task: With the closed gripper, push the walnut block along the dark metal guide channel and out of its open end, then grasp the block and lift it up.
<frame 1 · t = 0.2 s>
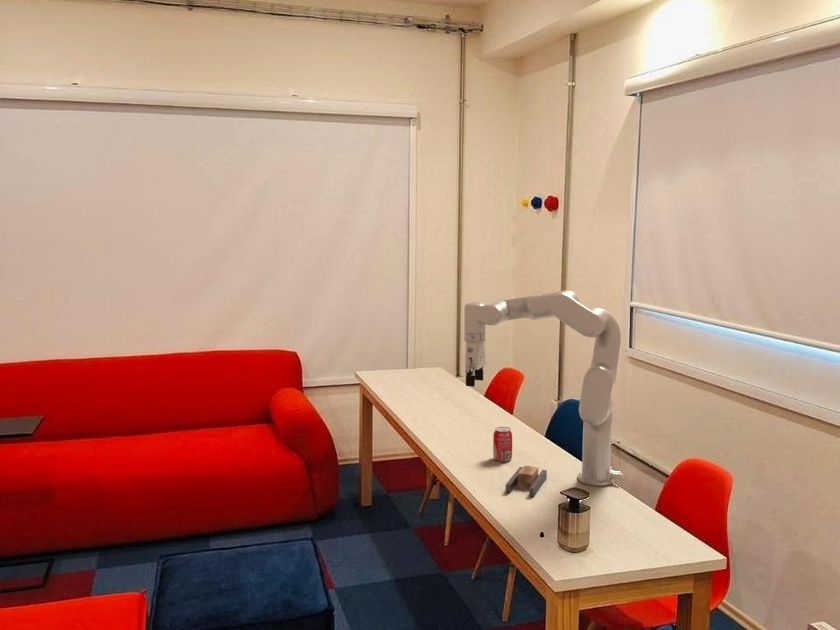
hand: (474, 383, 273), 31 cm above the table, tool pointing down, fingers open, 9 cm apart
soda can: (502, 460, 282), on the table
walnut block: (528, 484, 258), on the table
guide channel: (526, 485, 256), on the table
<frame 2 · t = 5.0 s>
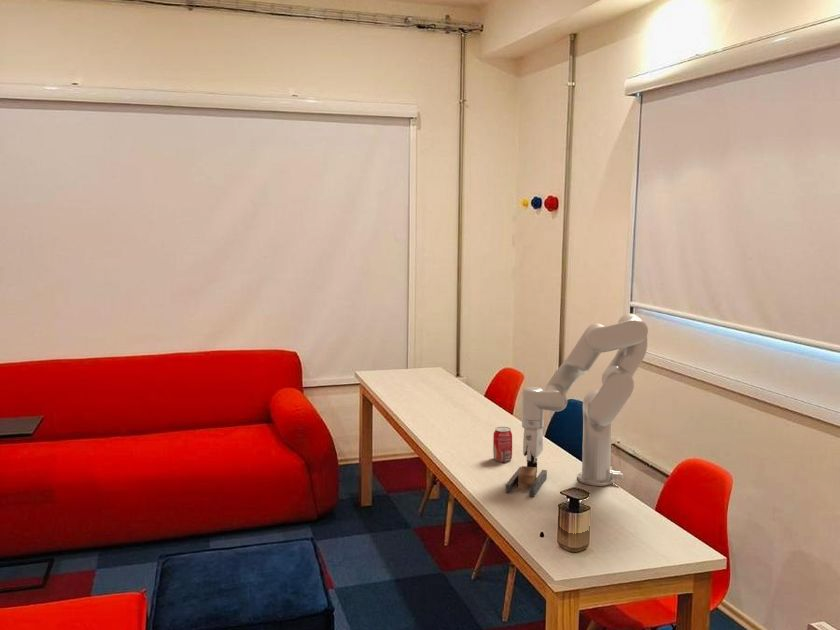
hand: (531, 473, 263), 2 cm above the table, tool pointing down, fingers closed
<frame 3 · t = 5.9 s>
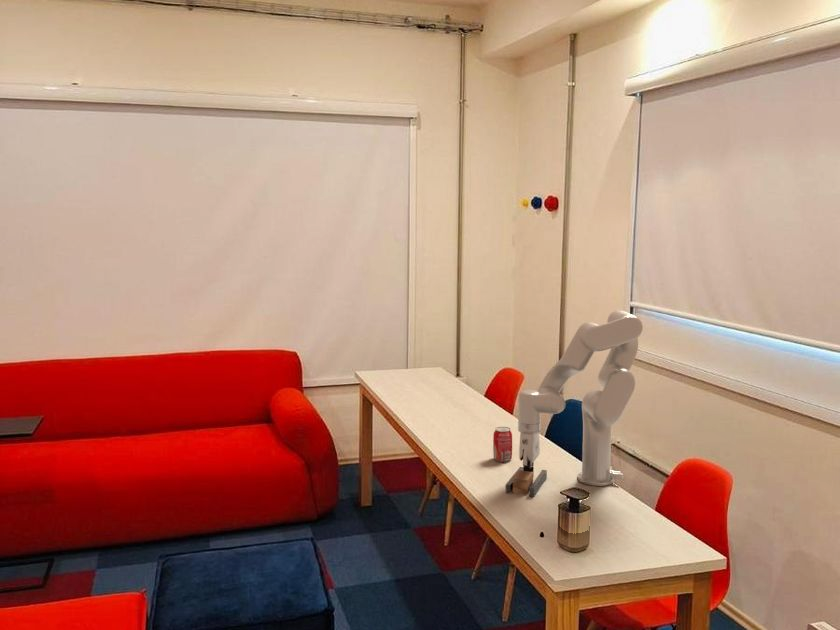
hand: (528, 477, 258), 2 cm above the table, tool pointing down, fingers closed
walnut block: (522, 489, 253), on the table, touching gripper
everything else where it was.
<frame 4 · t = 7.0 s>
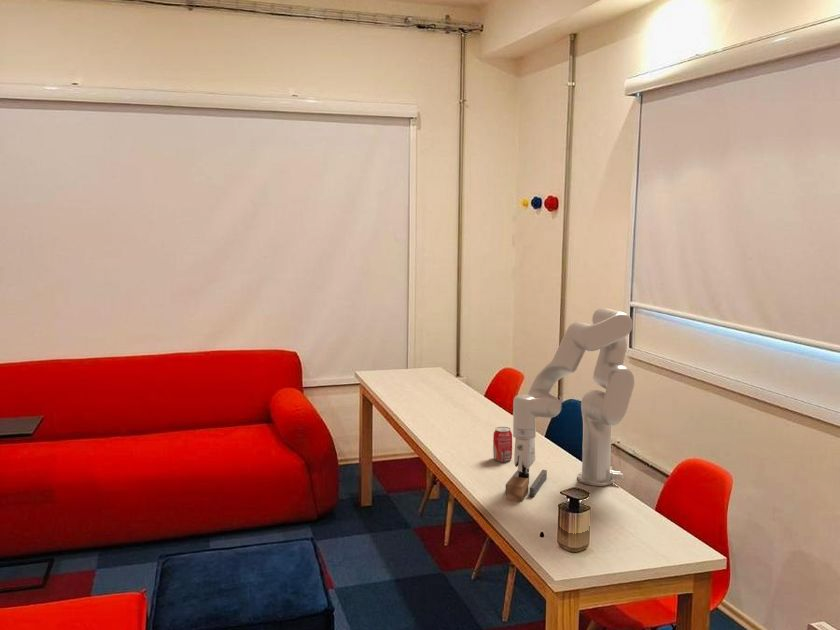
hand: (523, 484, 252), 2 cm above the table, tool pointing down, fingers closed
walnut block: (517, 496, 247), on the table, touching gripper
everything else where it was.
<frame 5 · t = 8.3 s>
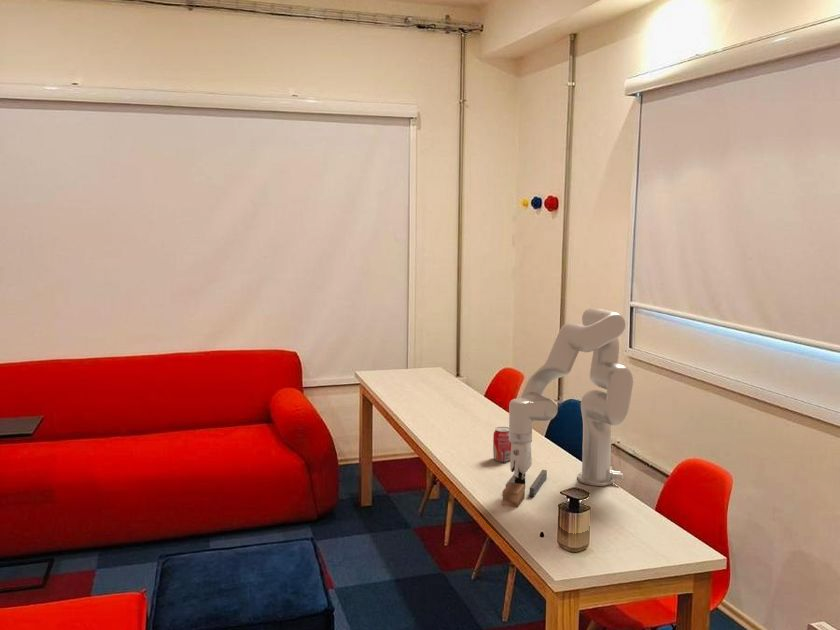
hand: (519, 489, 248), 2 cm above the table, tool pointing down, fingers closed
walnut block: (513, 502, 243), on the table, touching gripper
everything else where it was.
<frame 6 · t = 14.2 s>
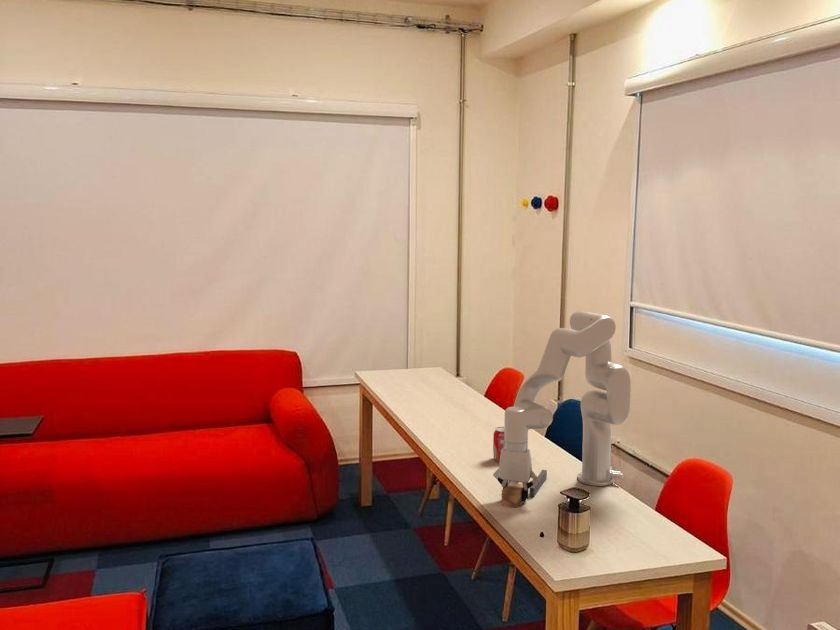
hand: (515, 498, 243), 1 cm above the table, tool pointing down, fingers closed on walnut block, 5 cm apart
walnut block: (513, 502, 242), on the table, touching gripper
everything else where it was.
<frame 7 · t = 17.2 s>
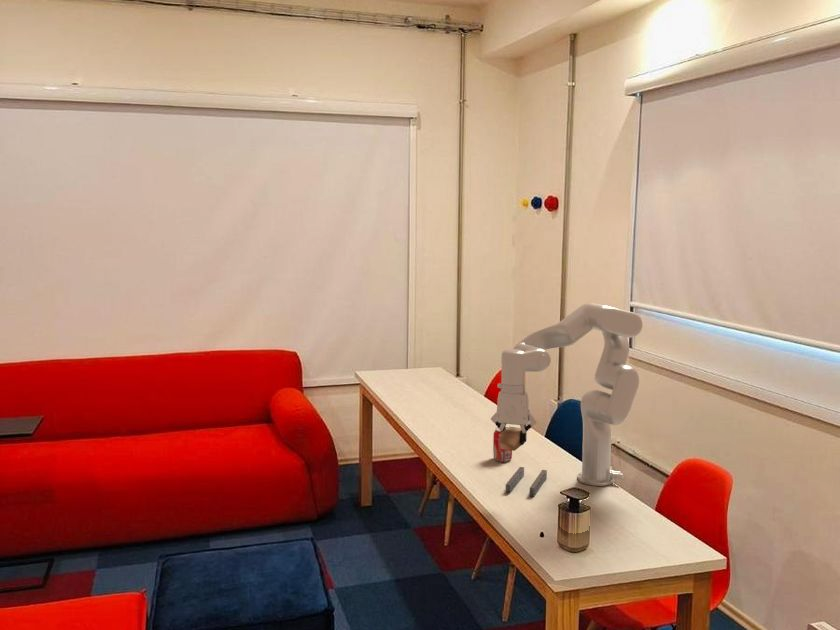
hand: (513, 442, 242), 19 cm above the table, tool pointing down, fingers closed on walnut block, 5 cm apart
walnut block: (512, 445, 240), point 18 cm above the table, touching gripper
everything else where it was.
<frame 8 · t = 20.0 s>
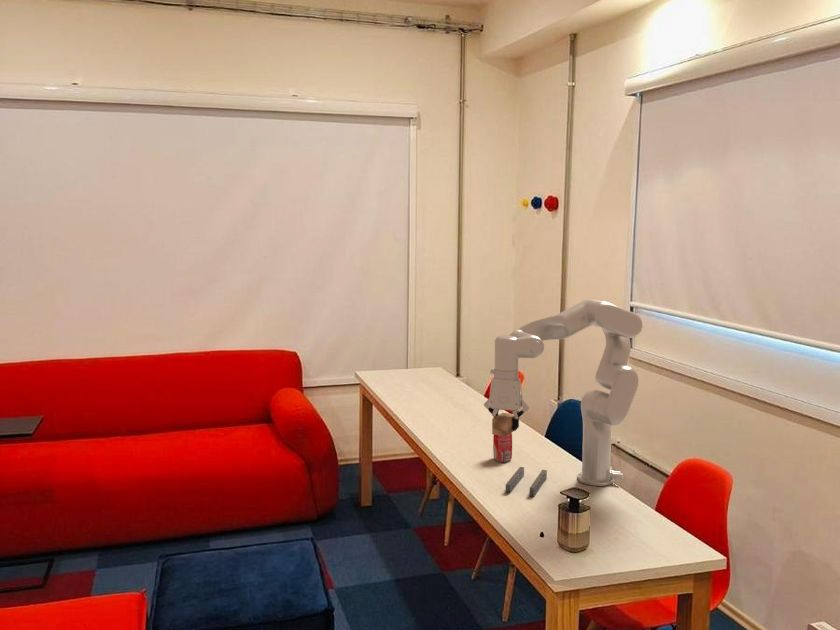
hand: (506, 428, 243), 23 cm above the table, tool pointing down, fingers closed on walnut block, 5 cm apart
walnut block: (504, 431, 242), point 23 cm above the table, touching gripper
everything else where it was.
at the end: the gripper is holding walnut block; walnut block inside the target area (1.1 cm from its centre), point 22.6 cm above the table; walnut block moved 27.6 cm from its start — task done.
